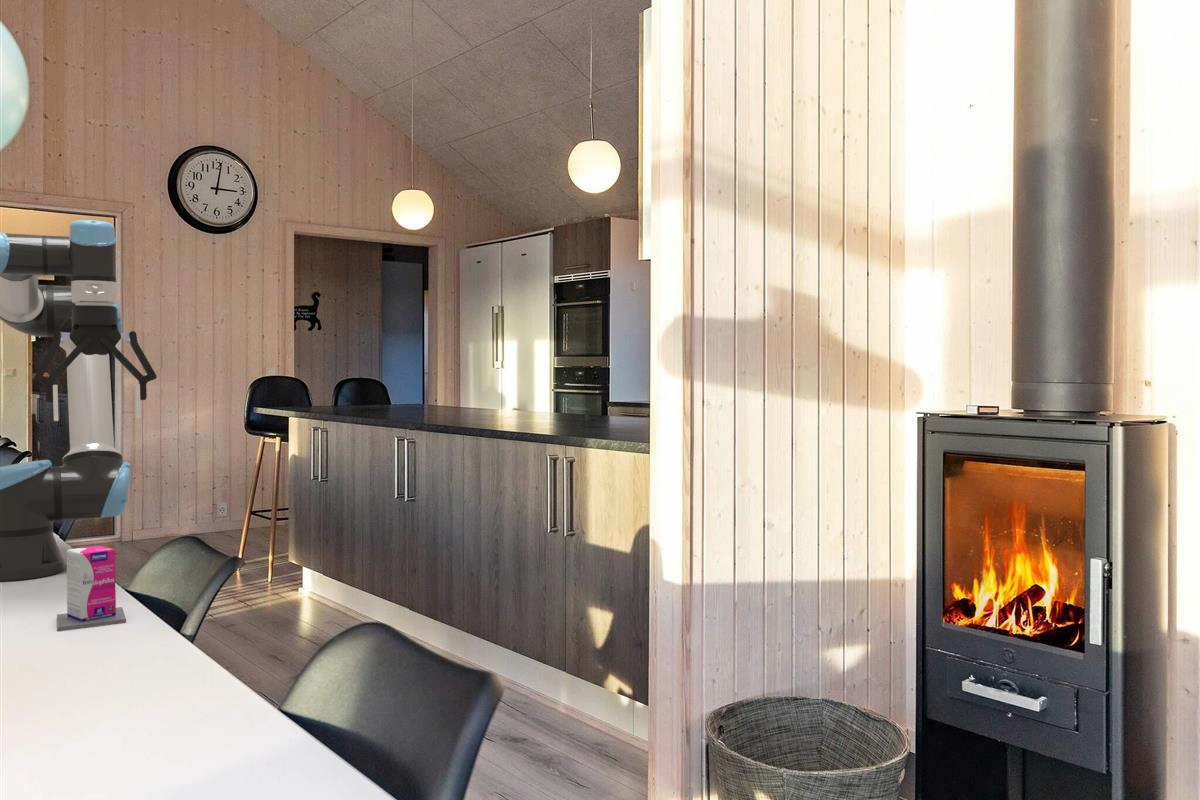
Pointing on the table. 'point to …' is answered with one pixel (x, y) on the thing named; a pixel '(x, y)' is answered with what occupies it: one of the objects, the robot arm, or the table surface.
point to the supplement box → (91, 583)
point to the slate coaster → (89, 621)
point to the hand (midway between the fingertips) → (97, 419)
